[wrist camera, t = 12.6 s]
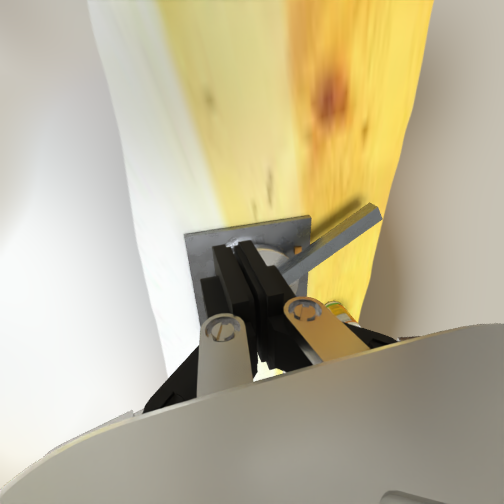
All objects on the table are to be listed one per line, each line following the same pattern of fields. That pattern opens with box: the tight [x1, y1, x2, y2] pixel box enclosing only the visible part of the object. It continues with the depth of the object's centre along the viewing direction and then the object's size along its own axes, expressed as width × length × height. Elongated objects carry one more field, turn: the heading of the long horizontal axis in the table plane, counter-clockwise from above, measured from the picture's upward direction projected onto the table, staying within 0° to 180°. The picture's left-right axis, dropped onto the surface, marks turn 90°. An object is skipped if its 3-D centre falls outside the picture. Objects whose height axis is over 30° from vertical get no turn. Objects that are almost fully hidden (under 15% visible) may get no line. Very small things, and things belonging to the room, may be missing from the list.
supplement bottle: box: [325, 302, 360, 327], centre depth 54 cm, size 5×5×10 cm
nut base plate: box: [184, 215, 311, 326], centre depth 48 cm, size 20×20×1 cm
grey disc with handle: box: [215, 203, 382, 294], centre depth 46 cm, size 29×14×4 cm, turn 123°
